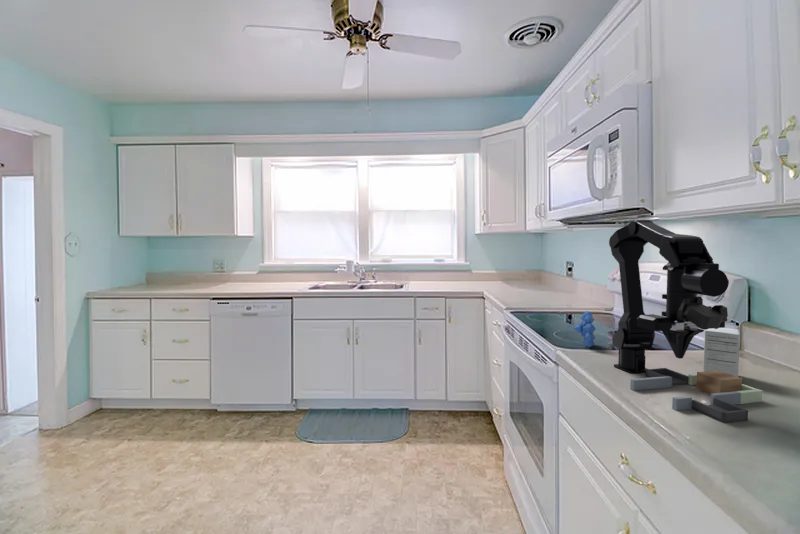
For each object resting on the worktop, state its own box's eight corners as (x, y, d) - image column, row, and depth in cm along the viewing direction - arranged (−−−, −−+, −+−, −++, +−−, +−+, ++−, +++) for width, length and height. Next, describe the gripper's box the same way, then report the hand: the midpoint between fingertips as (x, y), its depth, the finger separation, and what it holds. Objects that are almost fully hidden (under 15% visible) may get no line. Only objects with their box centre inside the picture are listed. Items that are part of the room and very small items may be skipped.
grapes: (571, 341, 148) (572, 308, 147) (591, 342, 146) (592, 309, 145) (576, 349, 136) (577, 314, 136) (598, 350, 135) (599, 315, 134)
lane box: (610, 379, 106) (610, 370, 106) (683, 373, 111) (684, 364, 111) (706, 424, 80) (707, 412, 80) (798, 414, 84) (798, 402, 84)
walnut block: (696, 390, 99) (696, 372, 99) (716, 388, 100) (717, 370, 100) (719, 399, 93) (720, 380, 93) (741, 397, 94) (742, 378, 94)
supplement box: (703, 369, 114) (705, 325, 113) (737, 375, 109) (739, 329, 109) (702, 376, 108) (704, 330, 108) (738, 382, 104) (740, 333, 103)
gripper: (677, 296, 83) (675, 371, 84) (751, 294, 87) (748, 365, 88) (636, 290, 94) (634, 356, 95) (702, 288, 98) (700, 352, 98)
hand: (679, 358), depth 94 cm, fingers closed
